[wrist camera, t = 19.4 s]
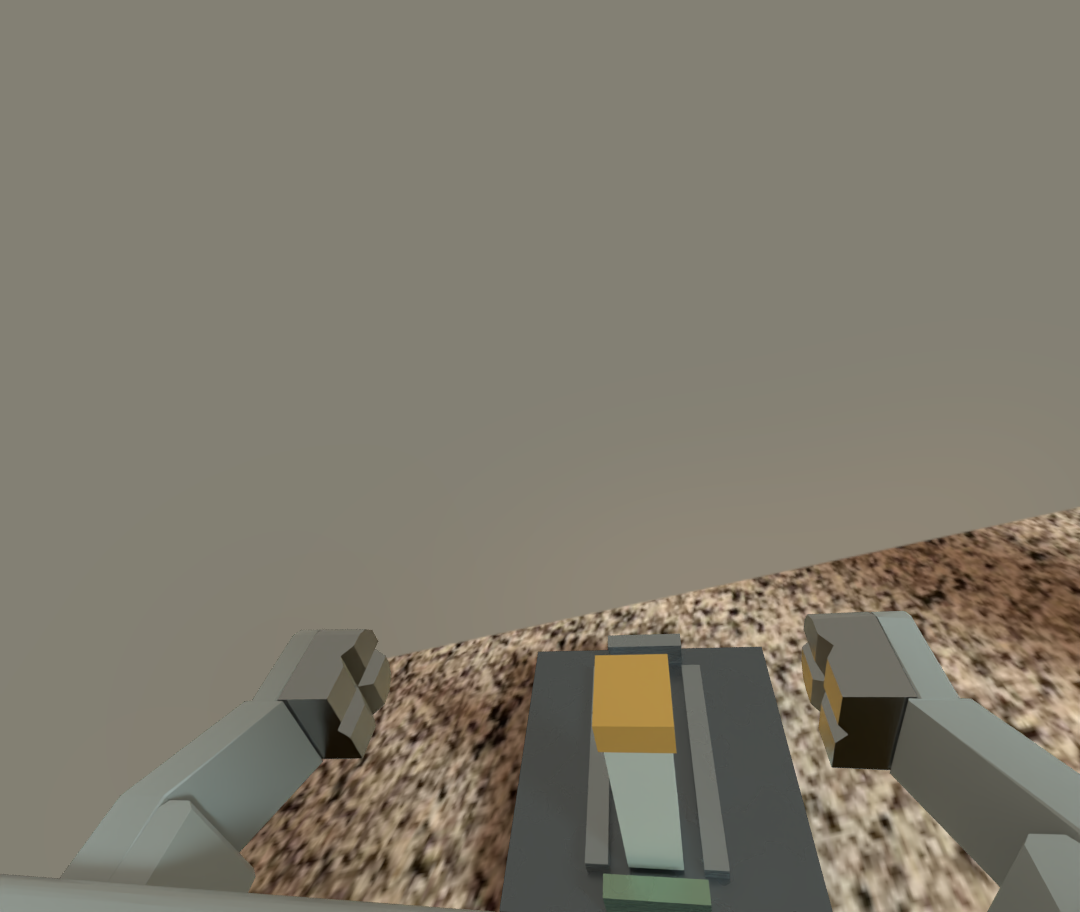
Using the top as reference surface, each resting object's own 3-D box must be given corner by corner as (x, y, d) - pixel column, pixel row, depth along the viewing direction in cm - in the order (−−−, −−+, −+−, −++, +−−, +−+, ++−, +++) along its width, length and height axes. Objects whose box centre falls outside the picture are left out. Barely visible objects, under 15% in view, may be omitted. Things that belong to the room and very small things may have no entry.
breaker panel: (760, 674, 40) (762, 629, 37) (833, 961, 26) (843, 919, 24) (545, 677, 43) (533, 635, 40) (511, 934, 29) (491, 895, 27)
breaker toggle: (682, 803, 30) (667, 654, 24) (688, 875, 27) (674, 726, 21) (624, 801, 31) (595, 655, 25) (624, 871, 28) (592, 726, 22)
